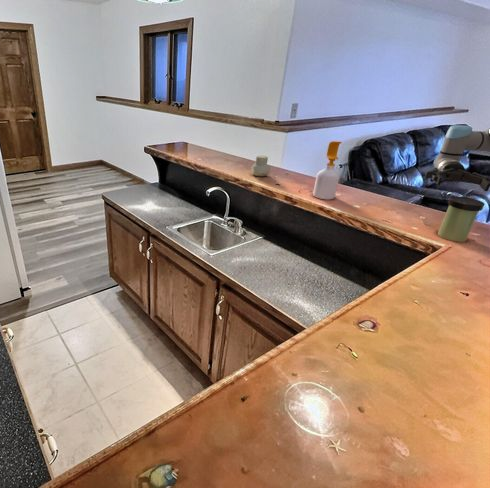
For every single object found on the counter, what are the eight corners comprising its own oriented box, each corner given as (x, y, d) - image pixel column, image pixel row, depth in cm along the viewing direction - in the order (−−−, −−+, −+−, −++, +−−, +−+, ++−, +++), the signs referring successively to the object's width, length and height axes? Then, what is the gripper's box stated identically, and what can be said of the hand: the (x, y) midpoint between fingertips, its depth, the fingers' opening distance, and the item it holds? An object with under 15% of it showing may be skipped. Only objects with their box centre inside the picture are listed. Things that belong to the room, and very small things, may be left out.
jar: (465, 235, 122) (481, 201, 116) (466, 243, 116) (482, 208, 110) (438, 229, 126) (451, 196, 120) (437, 237, 120) (451, 202, 115)
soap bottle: (314, 198, 154) (326, 142, 143) (311, 192, 162) (323, 138, 151) (335, 200, 153) (350, 143, 142) (332, 194, 160) (345, 139, 149)
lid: (481, 205, 117) (483, 200, 116) (483, 213, 110) (485, 207, 109) (447, 199, 122) (449, 194, 121) (447, 206, 115) (449, 201, 114)
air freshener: (269, 178, 183) (272, 159, 178) (253, 177, 183) (256, 158, 179) (265, 172, 193) (267, 154, 188) (250, 172, 193) (252, 154, 188)
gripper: (486, 184, 135) (503, 200, 118) (411, 175, 145) (417, 189, 128) (494, 164, 132) (514, 179, 115) (417, 157, 142) (424, 169, 125)
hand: (463, 184), depth 122 cm, fingers open, 13 cm apart
